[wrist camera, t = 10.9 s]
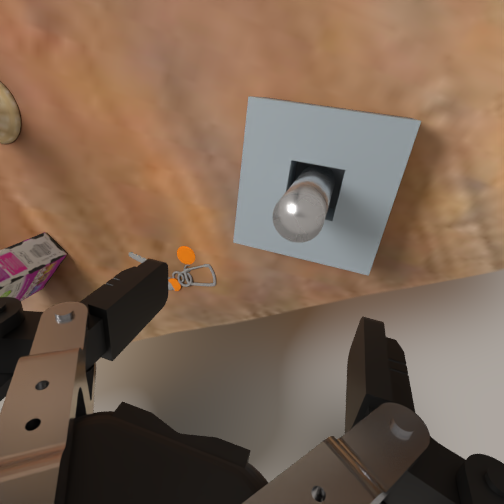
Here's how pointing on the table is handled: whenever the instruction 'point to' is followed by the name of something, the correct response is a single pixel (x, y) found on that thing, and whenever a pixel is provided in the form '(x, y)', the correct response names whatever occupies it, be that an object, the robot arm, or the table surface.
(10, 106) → the hand bell
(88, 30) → the table surface
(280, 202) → the pin
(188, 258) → the key chain
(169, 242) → the table surface
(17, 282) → the candy bar box
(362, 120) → the bore block
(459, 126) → the table surface
